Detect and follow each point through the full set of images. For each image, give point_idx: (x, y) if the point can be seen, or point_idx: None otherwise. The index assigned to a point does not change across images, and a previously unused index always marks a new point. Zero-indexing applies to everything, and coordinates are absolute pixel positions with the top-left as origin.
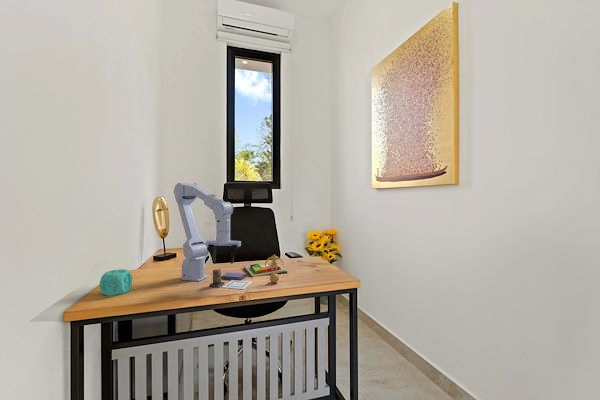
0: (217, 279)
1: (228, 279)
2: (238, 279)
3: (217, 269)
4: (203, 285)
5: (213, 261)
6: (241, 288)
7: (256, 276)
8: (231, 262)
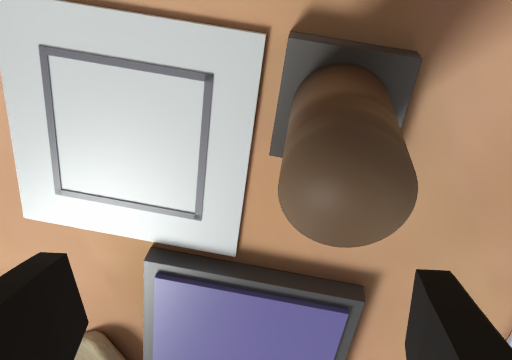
0: (320, 89)
1: (277, 271)
2: (172, 257)
3: (352, 237)
4: (504, 98)
5: (437, 292)
6: (22, 4)
7: None
8: (32, 261)
